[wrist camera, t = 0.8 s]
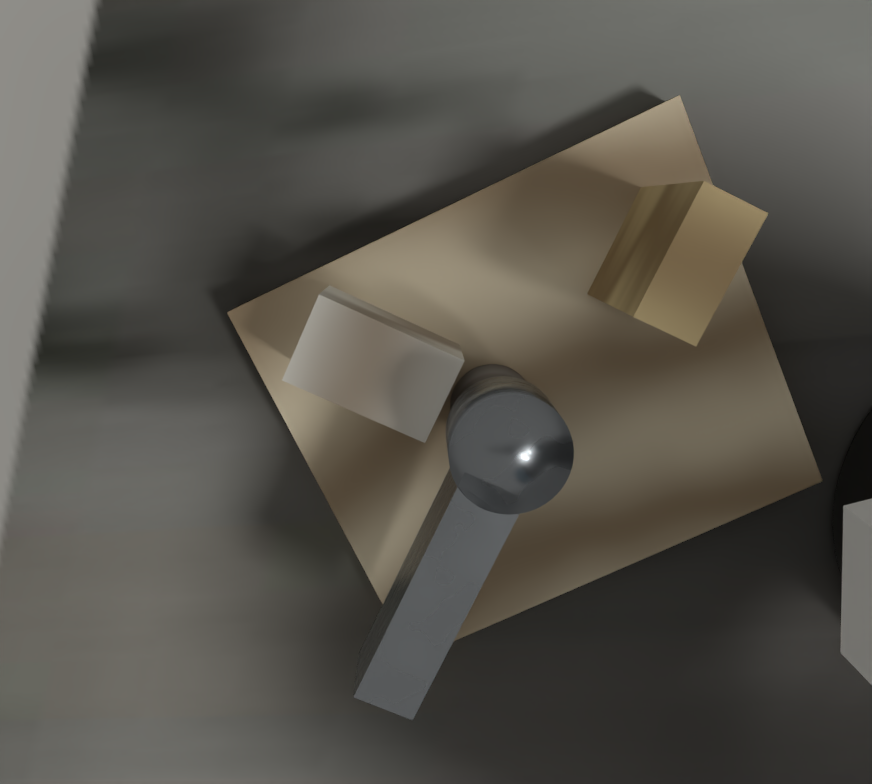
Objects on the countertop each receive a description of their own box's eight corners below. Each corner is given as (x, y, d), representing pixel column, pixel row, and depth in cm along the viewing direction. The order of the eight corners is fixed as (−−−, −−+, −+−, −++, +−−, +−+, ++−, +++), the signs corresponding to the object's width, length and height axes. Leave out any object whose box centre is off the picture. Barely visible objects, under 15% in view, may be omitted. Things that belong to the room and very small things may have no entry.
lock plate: (803, 468, 31) (923, 548, 23) (412, 638, 32) (410, 765, 25) (665, 101, 27) (756, 61, 20) (236, 307, 29) (175, 340, 21)
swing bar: (475, 357, 24) (482, 374, 22) (578, 404, 25) (595, 426, 22) (337, 643, 26) (329, 688, 24) (433, 682, 27) (436, 729, 24)
